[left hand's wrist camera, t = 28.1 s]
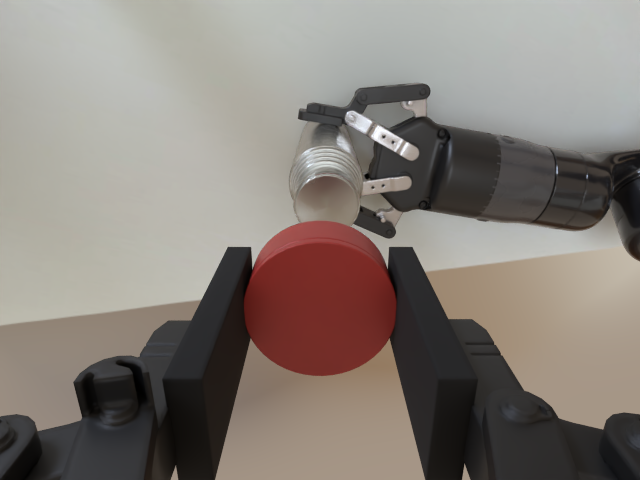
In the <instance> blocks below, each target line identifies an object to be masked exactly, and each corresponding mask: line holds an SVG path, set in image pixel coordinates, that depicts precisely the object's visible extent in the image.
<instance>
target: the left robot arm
mask: <svg viewBox="0 0 640 480" xmlns="http://www.w3.org/2000/svg"><path fill="white" fill-rule="evenodd" d="M388 272H389V275H390V278H391V281H392V284H393V288H394V291H395V294H396V299H397V303H396V317H395V326H394V329H393V332H392V334H391V336H390V341H391V345H392V349H393V353H394V357H395V361H396V365H397V369H398V373H399V377H400V381H401V385H402V389H403V393H404V397H405V401H406V405H407V409H408V413H409V417H410V421H411V425H412V429H413V433H414V437H415V440H416V444H417V448H418V452H419V456H420V460H421V464H422V468H423V472H424V476H425V480H462V476H463V469H464V463H465V465H466V468H467V471H468V474H469V477H470V479H471V480H640V415H639V414H631V413H619V414H613V415H612V416H611V417H610V418H608V419H607V420H606V423H605V426H604V429H603V430H602V429H598V428H593V427H589V426H585V425H580V424H576V423H572V422H569V421H565V420H562V419H559V418H558V416H557V415H556V413H555V412H554V410H553V408H552V407H551V406H550V405H549V404H547V403H546V402H545V401H544V400H543V399H541V398H539V397H537V396H535V395H533V394H531V393H529V392H526V391H524V390H523V388H522V387H521V385H520V383H519V382H518V380H517V379H516V377H515V375H514V374H513V372H512V370H511V369H510V367H509V366H508V364H507V363H506V361H505V359H504V358H503V356H501V353H500V351H499V350H498V348H497V346H496V345H494V341H493V340H492V338H491V337H490V335H489V333H488V332H487V330H486V329H484V328H483V327H482V326H480V325H479V324H478V323H476V322H475V321H474V320H472V319H448V318H447V316H446V314H445V312H444V310H443V308H442V306H441V304H440V302H439V300H438V298H437V296H436V294H435V292H434V290H433V288H432V286H431V284H430V282H429V280H428V278H427V276H426V274H425V272H424V270H423V268H422V266H421V264H420V262H419V260H418V258H417V256H416V254H415V252H414V250H413V248H412V247H389V259H388ZM251 273H252V255H251V247H228V248H227V250H226V252H225V254H224V256H223V258H222V260H221V262H220V264H219V266H218V268H217V270H216V272H215V274H214V276H213V278H212V280H211V282H210V284H209V286H208V288H207V290H206V292H205V294H204V296H203V298H202V300H201V302H200V304H199V306H198V308H197V310H196V312H195V314H194V316H193V318H192V320H191V321H167V322H166V323H165V324H163V325H162V326H161V327H159V328H158V329H157V330H155V331H154V332H153V334H152V336H151V337H150V339H149V341H148V342H147V344H146V346H145V347H144V349H143V350H142V352H141V353H140V357H134V356H116V357H112V358H108V359H104V360H102V361H99V362H97V363H95V364H93V365H91V366H89V367H88V368H87V369H85V370H84V371H82V372H81V373H80V374H79V375H78V377H77V378H76V380H75V381H74V386H75V391H76V394H77V398H78V402H79V406H80V410H81V414H82V420H81V421H78V422H74V423H71V424H68V425H63V426H59V427H55V428H50V429H46V430H42V431H37V428H36V425H35V422H34V421H33V420H32V419H31V418H29V417H28V416H23V415H17V414H15V415H7V416H1V417H0V480H171V477H172V474H173V471H174V468H175V466H176V468H177V474H178V480H215V477H216V473H217V469H218V465H219V461H220V458H221V454H222V449H223V446H224V442H225V437H226V434H227V430H228V426H229V422H230V418H231V414H232V410H233V406H234V402H235V398H236V394H237V390H238V386H239V382H240V378H241V374H242V370H243V366H244V362H245V358H246V354H247V350H248V346H249V342H250V338H251V337H250V335H249V333H248V331H247V328H246V325H245V314H244V296H245V292H246V289H247V285H248V282H249V279H250V276H251Z"/></svg>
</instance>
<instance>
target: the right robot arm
mask: <svg viewBox="0 0 640 480" xmlns="http://www.w3.org/2000/svg"><path fill="white" fill-rule="evenodd" d="M429 95H430V88H429V86H428V85H426V84H422V83H410V84H399V85H388V86H378V87H367V88H359V89H357V90H356V92H355V95H354V97H353V99H352V101H351V102H350V104H349V105H348V106H346V107H336V106H330V105H325V104H319V103H310V104H308V105H307V109H300V110H299V115H298V119H300V120H305V121H311V122H317V123H322V124H329V125H334V126H339V127H342V124H344V125H350V126H351V127H353V128H355V129H357V130H358V131H360V132H362V133H364V134H365V135H367V136H368V137H370V138H371V139H373V140H375V142H374V147H373V148H374V157H373V159H372V161H371V163H370V166H369V171H368V172H363V173H362V174H363V190H362V194H361V196H364V195H371V194H377V193H380V194H381V195H382V196H383V197H384V198H385V199H386V200H387V201H388V202H389V203H390V204H391V205H392V207H391V208H389V209H382V208H381V209H378V210H377V211H376V212H374V211H371V210H369V209H367V208H365V207H362V206H360V211H359V213H358V216H357V219H356V220H355V221H354V223H353V224H355V225H357V226H360V227H362V228H364V229H367V230H369V231H371V232H374V233H376V234H378V235H381V236H383V237H385V238H392V237H394V236H395V234H396V230H395V226H396V224H397V222H398V220H399V218H400V216H401V215H402V213H403V212H408V211H411V210H415V209H421V210H426V211H432V212H438V213H444V214H450V215H456V216H462V217H468V218H475V219H477V220H479V221H493V222H500V223H521V224H528V225H534V226H540V227H546V228H552V229H559V230H566V231H582V230H587V229H589V228H591V227H593V226H595V225H596V224H597V223H599V222H600V221H601V220H602V219H603V217H604V216H605V214H606V213H607V211H608V209H609V207H610V209H611V212H612V215H613V218H614V221H615V223H616V226H617V229H618V232H619V235H620V238H621V241H622V243H623V246H624V247H625V249H626V251H627V252H628V253H629V254H630V255H631V256H632V257H633V258H634V259H636V260H638V261H640V149H633V150H622V151H608V152H600V153H590V154H583V153H579V152H574V151H569V150H563V149H557V148H552V147H545V146H541V145H537V144H534V143H531V142H528V141H525V140H522V139H517V138H512V137H509V136H501V135H495V134H490V133H484V132H478V131H473V130H467V129H461V128H456V127H450V126H444V125H439V124H436V123H435V122H433V121H432V120H431V119H430V118H428V117H427V98H428V96H429ZM392 102H400V104H401V106H402V107H403V108H404V109H406V110H411V111H412V112H413V114H414V117H411V118H409V119H407V120H405V121H403V122H401V123H399V124H397V125H395V126H393V127H391V128H389V129H388V128H387V127H385V126H383V125H381V124H380V123H378V122H376V121H374V120H373V119H371V118H369V117H367V116H365V115H364V114H362V113H363V112H364V110H365V108H366V107H367V105H370V104H381V103H392ZM369 178H370V179H369ZM372 186H374V187H372Z"/></svg>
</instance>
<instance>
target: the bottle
mask: <svg viewBox="0 0 640 480" xmlns="http://www.w3.org/2000/svg"><path fill="white" fill-rule="evenodd" d="M289 187H290V193H291V196H292V199H293V201H294V205H293V207H294V211H295V215H296V217H297V218H298V220H299V222H300V223H303V222H308V221H332V222H337V223H341V224H344V225H347V226H349V227H350V226H351V225H352V224H353V223H354V221H355V220H356V219H357V216H358V213H359V211H360V197H361V194H362V190H363V174H362V170H361V167H360V165H359V162H358V159H357V156H356V154H355V151H354V148H353V145H352V142H351V140H350V137H349V134H348V131H347V129H346V127H345V125H344V124H342V127H339V126H334V125H329V124H322V123H317V122H311V121H308V123H307V124H306V125H305V127H304V129H303V132H302V135H301V139H300V142H299V145H298V148H297V152H296V155H295V158H294V162H293V165H292V168H291V171H290V176H289Z"/></svg>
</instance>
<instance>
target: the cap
mask: <svg viewBox="0 0 640 480" xmlns="http://www.w3.org/2000/svg"><path fill="white" fill-rule="evenodd" d="M396 303H397V299H396V294H395V291H394V288H393V284H392V281H391V278H390V275H389V272H388V269H387V266H386V263H385V261H384V258H383V256H382V255H381V253H380V251H379V250H378V248H377V247H376V246H375V244H374V243H373V242H372V241H371V240H370V239H369V238H367V237H366V236H365V235H364V234H362V233H361V232H359V231H357V230H356V229H354V228H352V227H349V226H347V225H344V224H341V223H337V222H332V221H308V222H303V223H299V224H296V225H293V226H291V227H289V228H287V229H285V230H283V231H281V232H280V233H278V234H277V235H275V236H274V237H273V238H272V239H271V240H270V241H269V242H268V243H267V244H266V245H265V246H264V247H263V249H262V250H261V252H260V253H259V255H258V257H257V259H256V262H255V264H254V267H253V270H252V273H251V276H250V279H249V282H248V285H247V289H246V292H245V296H244V314H245V325H246V328H247V331H248V333H249V335H250V337H251V339H252V341H253V342H254V344H255V345H256V346H257V348H258V349H259V350H260V351H261V352H262V353H263V354H264V355H265V356H266V357H267V358H269V359H270V360H271V361H273V362H274V363H276V364H277V365H279V366H281V367H283V368H285V369H288V370H290V371H293V372H296V373H300V374H305V375H313V376H327V375H335V374H340V373H344V372H347V371H350V370H353V369H355V368H357V367H359V366H361V365H363V364H364V363H366V362H368V361H369V360H370V359H372V358H373V357H374V356H375V355H376V354H377V353H378V352H379V351H381V349H382V348H383V347H384V345H385V344H386V343H387V341H388V339H389V338H390V336H391V334H392V332H393V329H394V326H395V317H396Z"/></svg>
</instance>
